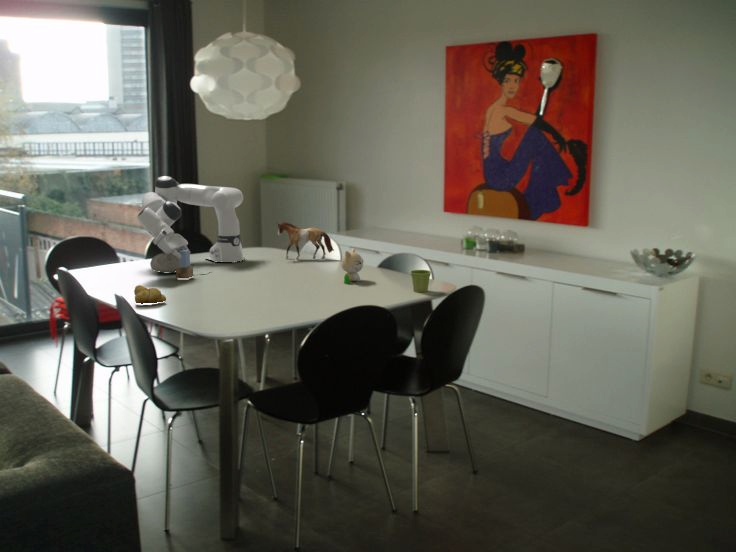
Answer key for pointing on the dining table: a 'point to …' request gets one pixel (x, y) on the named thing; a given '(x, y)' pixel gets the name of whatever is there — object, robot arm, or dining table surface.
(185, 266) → the blue brick
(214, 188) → the robot arm
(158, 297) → the bread roll
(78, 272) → the dining table surface
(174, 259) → the decorative shell
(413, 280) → the plant pot
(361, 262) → the kitten
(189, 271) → the walnut cube
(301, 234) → the horse figurine
